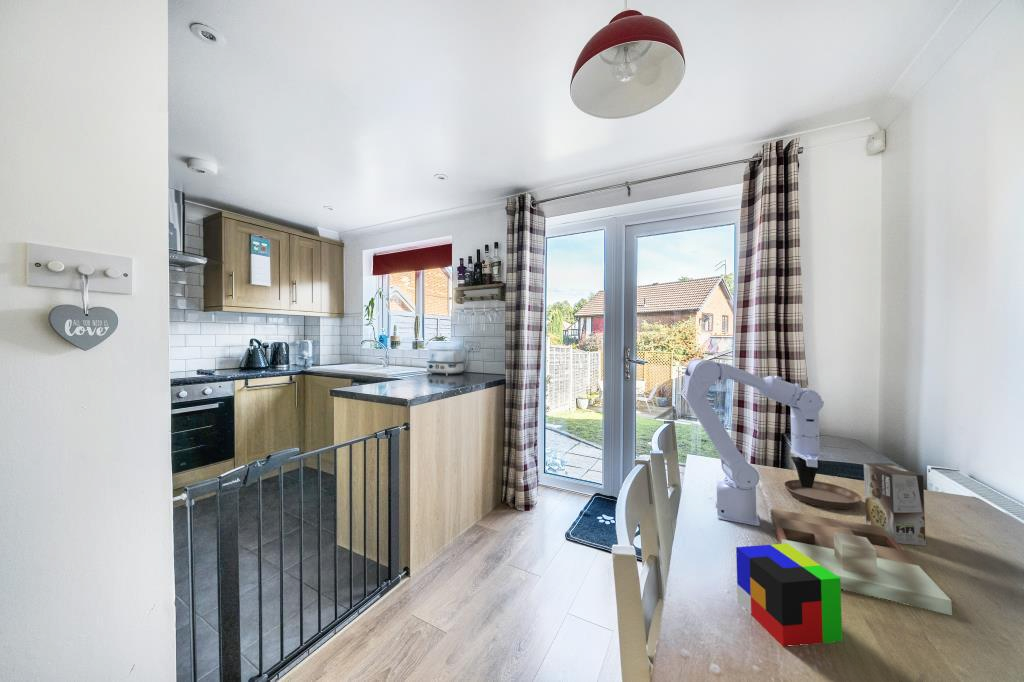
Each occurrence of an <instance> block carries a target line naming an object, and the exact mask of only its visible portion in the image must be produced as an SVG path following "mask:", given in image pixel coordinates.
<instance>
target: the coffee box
mask: <svg viewBox="0 0 1024 682" xmlns="http://www.w3.org/2000/svg"><path fill="white" fill-rule="evenodd" d="M863 475H864V476H863V479H864V480H863V481H864V483H863V484H864V497H865V498H864V499H865V500H864V502H865V520H866V525H873V526H879V527H883V528H884V529H885V530H886V532H887V533H888V534H889V535H890V536H891V537H892V538H893V539H894V540H895V541H896V542H897V543H898V544H903V545H914V546H926V545H927V543H926V540H927V539H926V520H925V519H926V518H925V517H926V516H925V513H926V512H925V491H924V490H925V489H924V485H925V484H924V475H923V474H920V473H919V472H916V471H912V470H910V469H907V468H904V467H902V466H899V465H896V464H893V463H891V462H890V463H888V462H887V463H886V462H873V463H872V462H871V463H870V462H863Z"/></svg>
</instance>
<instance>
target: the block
mask: <svg viewBox="0 0 1024 682" xmlns="http://www.w3.org/2000/svg"><path fill="white" fill-rule="evenodd" d="M834 552H835V557H836V559H837V561H838V562H839V564H840V566H841V567H842V569H844V570H849V571H854V572H859V573H863V574H868V575H873V576H877V557H876V549H875V548H874V547H873V545H872V544H871V543H870V542H869V540H868V539H867V538H866V537H861V536H855V535H849V534H844V533H838V532H834Z"/></svg>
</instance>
